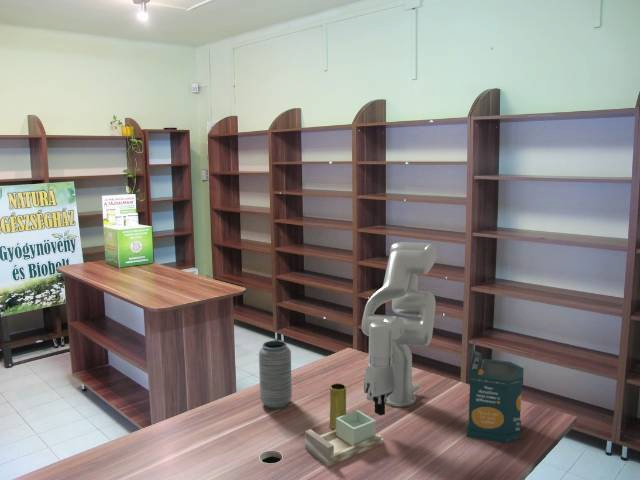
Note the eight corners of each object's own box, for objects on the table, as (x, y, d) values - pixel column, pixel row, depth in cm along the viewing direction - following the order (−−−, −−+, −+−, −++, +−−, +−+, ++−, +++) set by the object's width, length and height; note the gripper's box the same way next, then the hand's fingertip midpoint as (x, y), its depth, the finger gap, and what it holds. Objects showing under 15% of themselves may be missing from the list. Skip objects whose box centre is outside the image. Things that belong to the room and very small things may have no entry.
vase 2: (345, 431, 179) (345, 390, 177) (327, 429, 180) (327, 389, 178) (348, 422, 185) (348, 383, 182) (331, 421, 186) (330, 381, 184)
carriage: (357, 426, 179) (357, 409, 178) (375, 438, 171) (375, 420, 171) (336, 435, 173) (335, 418, 172) (354, 447, 166) (353, 429, 165)
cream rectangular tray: (359, 427, 181) (359, 410, 180) (383, 442, 172) (383, 424, 171) (305, 449, 169) (305, 431, 168) (328, 466, 159) (328, 447, 158)
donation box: (472, 414, 190) (474, 337, 185) (520, 421, 184) (524, 343, 179) (466, 436, 175) (469, 354, 170) (520, 445, 169) (524, 360, 164)
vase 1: (294, 408, 195) (293, 348, 191) (262, 412, 192) (260, 351, 189) (288, 395, 206) (287, 337, 203) (258, 398, 203) (256, 340, 200)
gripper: (389, 352, 182) (388, 403, 184) (355, 361, 173) (354, 415, 176) (405, 358, 176) (404, 411, 178) (370, 368, 167) (370, 424, 170)
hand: (379, 413), depth 177 cm, fingers closed
